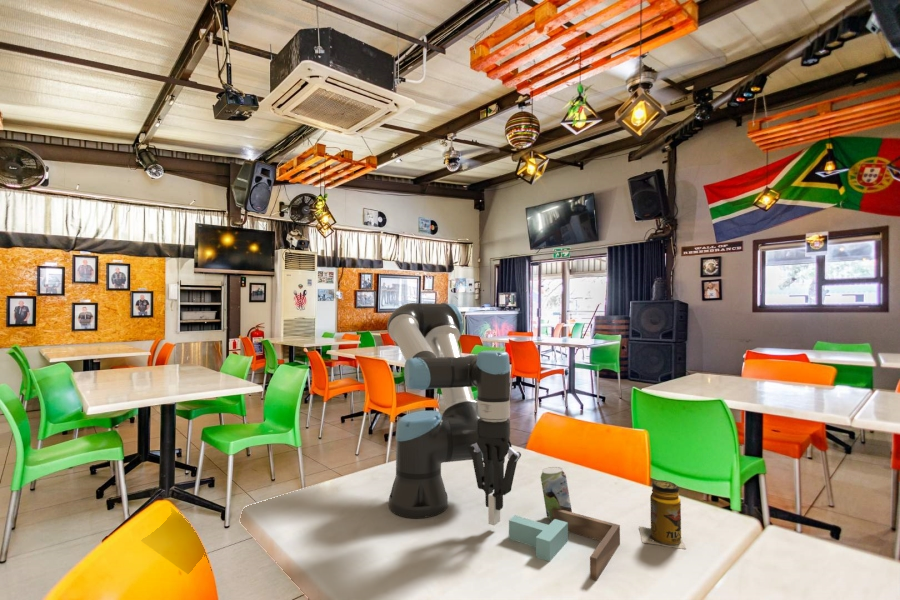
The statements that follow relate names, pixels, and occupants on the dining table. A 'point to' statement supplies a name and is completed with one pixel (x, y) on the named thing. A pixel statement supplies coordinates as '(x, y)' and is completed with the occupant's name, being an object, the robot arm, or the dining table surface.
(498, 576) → the dining table surface
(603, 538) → the corner fence
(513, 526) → the t block
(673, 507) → the condiment
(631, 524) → the dining table surface
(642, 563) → the dining table surface
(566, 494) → the beverage can
